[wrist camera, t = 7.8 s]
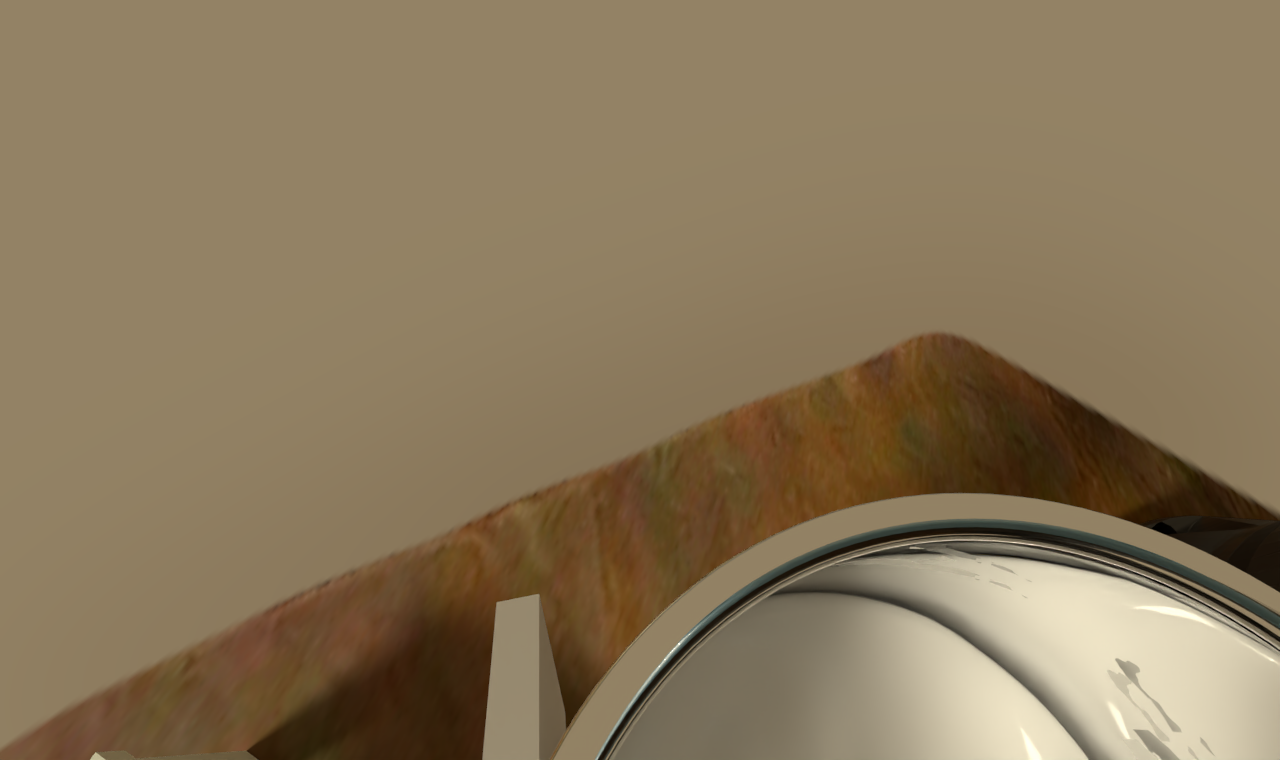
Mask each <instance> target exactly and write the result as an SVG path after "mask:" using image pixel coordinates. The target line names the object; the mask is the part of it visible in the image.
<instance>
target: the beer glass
mask: <svg viewBox="0 0 1280 760" xmlns="http://www.w3.org/2000/svg"><path fill="white" fill-rule="evenodd" d="M550 760H1280V592H1278V591H1276V590H1275V589H1273V588H1271V587H1270V586H1268V585H1266V584H1265V583H1263V582H1261V581H1259V580H1258V579H1256V578H1254V577H1253V576H1251V575H1249V574H1247V573H1245V572H1244V571H1242V570H1240V569H1238V568H1236V567H1234V566H1232V565H1231V564H1229V563H1227V562H1225V561H1223V560H1221V559H1219V558H1217V557H1215V556H1213V555H1211V554H1208V553H1206V552H1204V551H1202V550H1200V549H1198V548H1196V547H1193V546H1191V545H1189V544H1187V543H1184V542H1182V541H1180V540H1178V539H1175V538H1173V537H1170V536H1168V535H1165V534H1163V533H1160V532H1158V531H1155V530H1153V529H1150V528H1147V527H1144V526H1141V525H1139V524H1136V523H1133V522H1130V521H1127V520H1124V519H1120V518H1117V517H1114V516H1111V515H1107V514H1104V513H1100V512H1096V511H1092V510H1089V509H1085V508H1081V507H1076V506H1072V505H1067V504H1063V503H1058V502H1052V501H1047V500H1041V499H1036V498H1027V497H1019V496H1010V495H999V494H983V493H940V494H925V495H915V496H906V497H898V498H892V499H886V500H880V501H875V502H870V503H865V504H860V505H856V506H852V507H848V508H844V509H841V510H837V511H834V512H831V513H827V514H824V515H821V516H818V517H815V518H812V519H810V520H807V521H805V522H802V523H800V524H797V525H794V526H792V527H790V528H788V529H785V530H783V531H781V532H778V533H776V534H774V535H772V536H770V537H768V538H766V539H764V540H762V541H760V542H758V543H756V544H754V545H753V546H751V547H749V548H747V549H746V550H744V551H742V552H740V553H738V554H737V555H735V556H733V557H732V558H730V559H729V560H727V561H726V562H724V563H723V564H721V565H719V566H718V567H716V568H715V569H714V570H712V571H711V572H709V573H708V574H707V575H705V576H704V577H702V578H701V579H700V580H698V581H697V582H696V583H694V584H693V585H692V586H691V587H689V588H688V589H687V590H686V591H684V592H683V593H682V594H681V595H679V596H678V597H677V598H676V599H675V600H674V601H673V602H672V603H670V604H669V605H668V606H667V607H666V608H665V609H664V610H663V611H662V612H660V613H659V614H658V615H657V616H656V617H655V618H654V619H653V620H652V621H651V622H650V623H649V624H648V625H647V626H646V627H645V628H644V629H643V630H642V631H641V632H640V633H639V634H638V635H637V636H636V638H635V639H634V640H633V641H632V642H631V643H630V644H629V645H628V646H627V647H626V649H625V650H624V651H623V652H622V653H621V654H620V656H619V657H618V658H617V659H616V660H615V662H614V663H613V664H612V665H611V666H610V668H609V669H608V670H607V672H606V673H605V674H604V675H603V677H602V678H601V679H600V681H599V682H598V683H597V685H596V686H595V687H594V689H593V690H592V692H591V693H590V694H589V696H588V697H587V699H586V700H585V702H584V703H583V705H582V706H581V708H580V709H579V711H578V712H577V714H576V715H575V717H574V719H573V720H572V722H571V723H570V725H569V727H568V728H567V730H566V731H565V733H564V735H563V736H562V738H561V740H560V742H559V744H558V745H557V747H556V749H555V751H554V752H553V754H552V756H551V758H550Z"/></svg>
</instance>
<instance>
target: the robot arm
mask: <svg viewBox="0 0 1280 760" xmlns="http://www.w3.org/2000/svg"><path fill="white" fill-rule="evenodd" d="M1139 525H1141V526H1144V527H1147V528H1150V529H1153V530H1155V531H1158V532H1160V533H1163V534H1165V535H1168V536H1170V537H1173V538H1175V539H1178V540H1180V541H1182V542H1184V543H1187V544H1189V545H1191V546H1193V547H1196V548H1198V549H1200V550H1202V551H1204V552H1206V553H1208V554H1211V555H1213V556H1215V557H1217V558H1219V559H1221V560H1223V561H1225V562H1227V563H1229V564H1231V565H1232V566H1234V567H1236V568H1238V569H1240V570H1242V571H1244V572H1245V573H1247V574H1249V575H1251V576H1253V577H1254V578H1256V579H1258V580H1259V581H1261V582H1263V583H1265V584H1266V585H1268V586H1270V587H1271V588H1273V589H1275V590H1276V591H1278V592H1280V521H1273V520H1257V519H1241V518H1226V517H1210V516H1175V517H1167V518H1160V519H1156V520H1151V521H1147V522H1144V523H1141V524H1139ZM565 731H566V718H565V709H564V704H563V700H562V695H561V691H560V686H559V682H558V677H557V673H556V668H555V664H554V659H553V655H552V650H551V646H550V641H549V636H548V632H547V627H546V623H545V618H544V614H543V609H542V605H541V600H540V596H539V594H536V595H531V596H526V597H521V598H516V599H511V600H506V601H501V602H497V605H496V616H495V626H494V637H493V648H492V659H491V670H490V681H489V692H488V703H487V714H486V725H485V736H484V747H483V758H482V760H550V758H551V756H552V754H553V752H554V751H555V749H556V747H557V745H558V744H559V742H560V740H561V738H562V736H563V735H564V733H565Z"/></svg>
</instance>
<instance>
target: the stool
mask: <svg viewBox="0 0 1280 760" xmlns="http://www.w3.org/2000/svg"><path fill="white" fill-rule="evenodd" d="M90 760H258V759H257V758H255V757H254V756H253V755H251V754H250V753H248V752H247V751H236V752H222V753H208V754H194V755H180V756H166V757H152V758H138V759H136V758H134V757H133V756H132V755H130V754H129V753H128V752H126V751H109V752H96V753H95V754H94V755H93V756H92V758H91V759H90Z"/></svg>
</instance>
